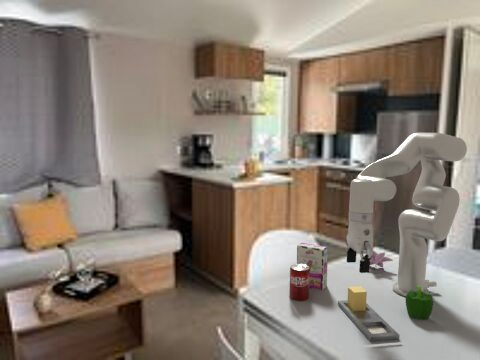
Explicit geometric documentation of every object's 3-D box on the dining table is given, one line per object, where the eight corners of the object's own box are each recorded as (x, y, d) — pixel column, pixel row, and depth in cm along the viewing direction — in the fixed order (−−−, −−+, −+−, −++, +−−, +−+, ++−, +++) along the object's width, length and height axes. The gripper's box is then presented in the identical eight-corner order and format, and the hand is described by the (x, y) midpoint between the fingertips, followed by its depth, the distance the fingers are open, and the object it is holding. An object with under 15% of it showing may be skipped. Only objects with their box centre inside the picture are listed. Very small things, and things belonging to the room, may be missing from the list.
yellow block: (359, 306, 135) (360, 286, 134) (365, 313, 131) (366, 291, 130) (347, 307, 135) (348, 287, 134) (352, 313, 130) (353, 292, 129)
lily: (396, 274, 169) (394, 252, 173) (383, 270, 162) (382, 247, 165) (370, 276, 177) (369, 254, 181) (357, 272, 170) (356, 250, 173)
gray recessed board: (362, 304, 138) (362, 299, 138) (399, 341, 115) (399, 335, 115) (337, 306, 137) (338, 300, 137) (370, 343, 114) (370, 337, 113)
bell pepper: (430, 325, 124) (432, 295, 123) (402, 318, 128) (404, 289, 127) (433, 314, 131) (435, 286, 130) (407, 308, 136) (409, 281, 134)
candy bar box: (327, 287, 153) (328, 246, 151) (322, 291, 149) (323, 250, 147) (301, 280, 159) (302, 241, 157) (295, 284, 155) (296, 244, 153)
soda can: (309, 303, 139) (310, 271, 137) (288, 301, 140) (289, 269, 139) (309, 295, 146) (310, 264, 144) (290, 293, 148) (290, 262, 146)
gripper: (384, 222, 120) (381, 276, 123) (359, 211, 137) (356, 258, 139) (361, 223, 119) (358, 277, 121) (339, 211, 136) (336, 258, 138)
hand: (357, 267), depth 130 cm, fingers open, 9 cm apart
